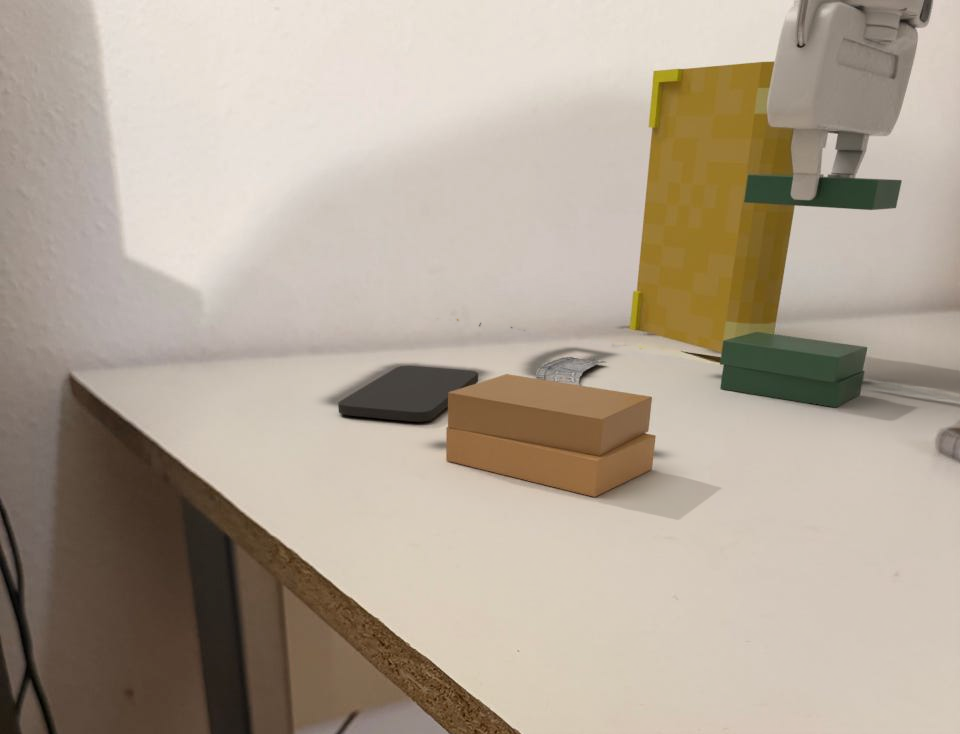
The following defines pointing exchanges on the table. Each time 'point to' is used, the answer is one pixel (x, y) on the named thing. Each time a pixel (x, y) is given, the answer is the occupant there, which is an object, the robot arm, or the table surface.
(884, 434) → the table surface
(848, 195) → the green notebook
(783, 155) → the book
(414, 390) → the phone
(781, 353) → the green stack
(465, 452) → the tan stack
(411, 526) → the table surface
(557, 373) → the coin fragment
